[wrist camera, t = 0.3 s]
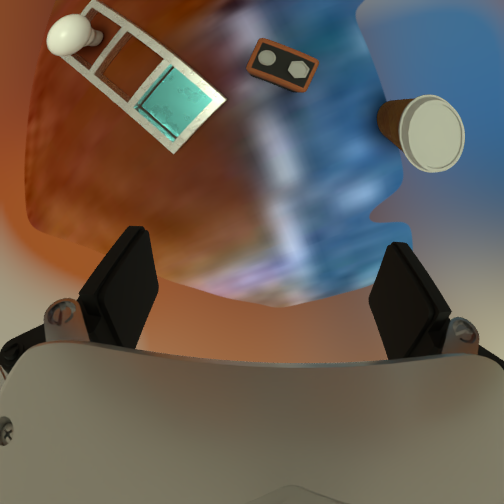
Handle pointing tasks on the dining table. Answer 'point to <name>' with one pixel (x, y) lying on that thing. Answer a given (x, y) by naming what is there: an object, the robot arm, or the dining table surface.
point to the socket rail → (153, 85)
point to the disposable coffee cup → (424, 131)
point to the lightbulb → (72, 35)
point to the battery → (282, 65)
